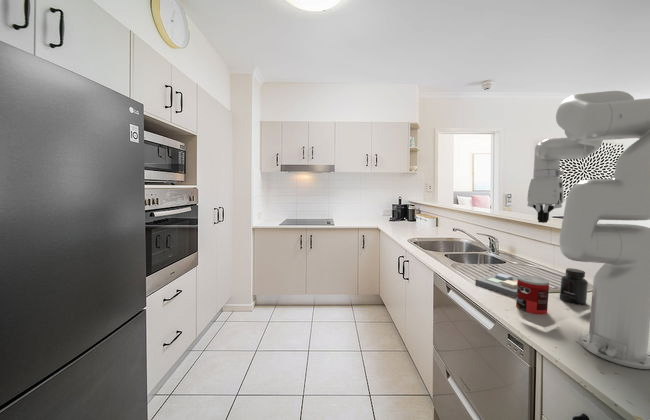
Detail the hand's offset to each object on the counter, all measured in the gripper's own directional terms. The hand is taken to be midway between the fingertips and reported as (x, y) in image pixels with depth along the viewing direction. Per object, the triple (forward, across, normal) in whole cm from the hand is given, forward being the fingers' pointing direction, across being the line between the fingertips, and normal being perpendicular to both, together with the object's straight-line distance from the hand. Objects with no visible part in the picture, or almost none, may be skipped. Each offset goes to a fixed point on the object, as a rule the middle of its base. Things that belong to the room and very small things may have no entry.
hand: (542, 222), depth 102 cm
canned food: (+27, -9, +24) cm, 37 cm away
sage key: (+26, +9, +14) cm, 31 cm away
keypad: (+27, +6, +10) cm, 30 cm away
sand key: (+25, +3, +13) cm, 28 cm away
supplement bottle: (+27, -12, +4) cm, 30 cm away
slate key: (+25, +9, +8) cm, 28 cm away
